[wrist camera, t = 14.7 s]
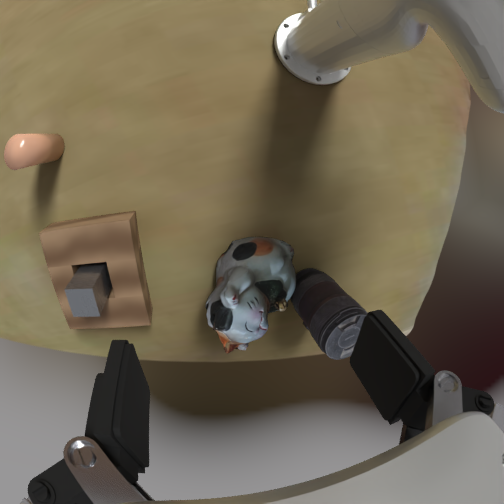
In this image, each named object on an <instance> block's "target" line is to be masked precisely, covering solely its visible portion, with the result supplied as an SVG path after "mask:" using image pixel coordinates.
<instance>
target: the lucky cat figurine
mask: <svg viewBox="0 0 504 504" xmlns="http://www.w3.org/2000/svg"><path fill="white" fill-rule="evenodd" d="M293 255H294V249H293V248H292V247H291V246H290V245H289V244H287V243H286V242H284V241H281V240H277V239H273V238H267V237H248V238H244V239H240V240H235V241H232V243H231V244H230V246H229V248H228V250H227V251H226V252H225V253H223V254H222V255H221V257H220V258H219V260H218V262H217V268H216V283H217V285H216V287H215V289H214V291H213V292H212V293H211V295H210V296H209V297H208V300H207V302H206V309H207V314H206V315H207V319H208V325H209V326H211V327H212V328H213V330H216V332H217V333H218V335H219V338H220V340H221V342H222V344H223V345H224V346H223V347H224V349H225V352H226V353H227V354H228V353H229V352H231V351H233V350H234V349H240V350H246V348H247V347H248V342H250V341H253V340H256V339H259V338H261V337H262V336H263V335H264V334H265V333H266V331H267V329H268V320H267V315H268V313H271V312H274V311H277V310H279V311H285V310H286V308H287V307H288V303H287V301H288V300H289V299H290V297H291V296H292V294H293V292H294V290H295V287H296V274H295V269H294V267H293V264H292V258H293Z"/></svg>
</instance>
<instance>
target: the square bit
mask: <svg viewBox="0 0 504 504" xmlns="http://www.w3.org/2000/svg"><path fill="white" fill-rule="evenodd" d="M111 288H112V283H111V279H110V275H109V271H108V267H107V263H106V262H99V263H89V264H81V266H80V267H79V269H78V270H77V271H76V273H75V274H74V276H73V277H72V279H71V280H70V282H69V283H68V285H67V286H66V288H65V289H64V290H65V293H66V296H67V299H68V303H69V306H70V308H71V311H72V314H73V317H98V316H101V313H102V310H103V308H104V305H105V303H106V300H107V297H108V295H109V293H110V290H111Z"/></svg>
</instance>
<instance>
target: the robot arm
mask: <svg viewBox="0 0 504 504" xmlns="http://www.w3.org/2000/svg"><path fill="white" fill-rule="evenodd" d="M320 1H321V3H320V4H318V5H317V0H307V4H308V9H307V10H306V11H305V12H304V13H298V14H294V15H292V16H290V17H288V18H286V19H285V20H284V21H283V22H282V23H281V24H280V25H279V26H278V28H277V30H276V33H275V37H274V45H275V49H276V53H277V55H278V57H279V59H280V61H281V62H282V64H283V65H284V66H285V67H286V68H287V69H288V71H289V72H291V73H292V74H293V75H295V76H296V77H298V78H299V79H301V80H303V81H306V82H308V83H311V84H316V85H327V84H332V83H335V82H338V81H340V80H341V79H343V78H344V77H345V76H346V75H347V74H348V73H349V71H350V69H351V67H352V66H355V65H358V64H361V63H365V62H368V61H371V60H375V59H379V58H382V57H386V56H390V55H394V54H398V53H402V52H406V51H409V50H411V49H413V48H415V47H416V46H417V45H419V44H420V43H421V41H422V40H423V38H424V36H425V34H426V31H427V28H428V25H430V26H431V27H432V28H433V29H434V30H435V32H436V33H437V34H438V35H439V37H440V38H441V39H442V41H444V42H445V44H446V45H447V47H448V48H449V50H450V51H451V53H452V54H453V56H454V57H455V59H456V60H457V62H458V64H459V65H460V67H461V68H462V70H463V72H464V74H465V75H466V77H467V79H468V80H469V82H470V84H471V85H472V87H473V89H474V91H475V92H476V94H477V95H478V96H479V98H480V99H481V100H482V101H483V102H484V103H485V104H486V105H487V106H489V107H490V108H492V109H493V110H495V111H498V112H501V113H504V0H320ZM284 57H285V58H286V59H285V58H284ZM316 79H317V80H316ZM350 364H351V366H352V368H353V370H354V371H355V373H356V374H357V376H358V378H359V379H360V381H361V383H362V384H363V386H364V387H365V389H366V390H367V392H368V394H369V395H370V397H371V399H372V400H373V402H374V403H375V405H376V407H377V408H378V410H379V412H380V413H381V415H382V417H383V418H384V419H385V420H388V422H389V424H390V425H391V424H393V423H395V422H397V421H399V420H400V419H401V420H402V421H403V427H402V432H401V436H400V442H399V445H398V446H396V447H394V448H392V449H390V450H388V451H386V452H384V453H382V454H379V455H377V456H375V457H373V458H370V459H368V460H366V461H364V462H361V463H359V464H356V465H354V466H351V467H349V468H346V469H343V470H341V471H338V472H335V473H332V474H329V475H326V476H323V477H320V478H317V479H314V480H310V481H307V482H303V483H299V484H295V485H292V486H287V487H283V488H279V489H274V490H269V491H264V492H259V493H253V494H247V495H240V496H232V497H223V498H212V499H199V500H169V501H155V500H154V499H153V498H152V497H151V496H150V495H149V494H148V493H147V492H146V491H145V490H144V489H143V488H142V487H141V486H140V485H139V484H138V483H137V481H138V473H145V467H149V404H150V390H149V386H148V383H147V381H146V378H145V376H144V373H143V370H142V368H141V365H140V362H139V360H138V357H137V354H136V351H135V348H134V345H133V344H129V343H128V341H127V340H112V342H111V346H110V350H109V354H108V358H107V362H106V367H105V371H104V373H99V374H98V375H97V376H96V379H95V383H94V388H93V392H92V397H91V402H90V407H89V412H88V419H87V424H86V430H85V437H84V436H78V437H75V438H72V439H71V440H69V441H68V442H67V444H66V445H65V448H64V451H63V454H64V459H62V460H61V461H59V462H58V463H56V464H55V465H53V466H52V467H50V468H49V469H47V470H46V471H44V472H43V473H41V474H39V475H38V476H36V477H35V478H33V479H32V480H31V481H30V483H29V485H28V494H29V497H28V498H27V499H26V498H24V499H23V500H22V502H21V503H20V504H504V407H503V406H501V405H499V404H498V403H495V405H494V401H493V399H492V397H491V396H490V395H489V394H488V393H486V392H484V391H479V390H475V389H471V388H467V387H462V386H461V382H460V380H459V378H458V377H457V376H456V375H455V374H454V373H452V372H449V371H441V372H439V373H437V374H436V376H435V375H434V372H435V370H434V369H433V368H432V367H431V365H430V364H429V363H428V362H427V360H426V359H425V358H424V357H423V356H422V355H421V353H420V352H419V351H418V350H417V349H416V348H415V346H414V345H413V344H412V343H411V342H410V341H409V340H408V338H407V337H406V336H405V335H404V334H403V333H402V332H401V331H400V329H399V328H398V327H397V326H396V325H395V324H394V323H393V322H392V321H391V319H390V318H389V317H388V316H387V315H386V314H385V313H384V312H383V311H382V310H376V311H372V312H369V313H368V314H367V316H365V318H364V320H363V323H362V326H361V329H360V332H359V335H358V338H357V341H356V344H355V346H354V349H353V352H352V355H351V357H350Z"/></svg>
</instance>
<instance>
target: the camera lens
mask: <svg viewBox="0 0 504 504" xmlns="http://www.w3.org/2000/svg"><path fill="white" fill-rule="evenodd" d="M290 299H291V302H292V303H293V306H294V308H295V310H296V312H297V313H298V314H299V316H300V317H301V318H302V319H303V324H304V325H305V327H306V328H307V329H308V330H309V331H310V333H311V335H312V337H313V338H314V340H315V341H316V343H317V344H318V346H319V347H320V349H321V350H322V351H323V352H324V353H326V354H327V355H328V357H330V358H332V359H344V358H346V357H349V356H351V355H352V352H353V349H354V346H355V344H356V341H357V338H358V335H359V332H360V329H361V326H362V323H363V320H364V318H365V316H367V314H368V313H367V312H366V311H365V310H364V309H363V308H362V307H361V306H360V305H359V304H358V303H357V302H356V301H355V300H354V299H353V298H352V297H350V296H349V295H348V294H347V293H346V292H345V291H344V290H343V289H342V288H341V287H340V286H339V285H338V284H337V283H336V282H335V281H334V280H333V279H332V278H331V277H329V276H328V275H327V274H325V273H324V272H322V271H319V270H317V269H313V268H308V269H304V270H302V271H300V272H299V273H297V274H296V287H295V290H294V292H293V294H292V296H291V297H290Z"/></svg>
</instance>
